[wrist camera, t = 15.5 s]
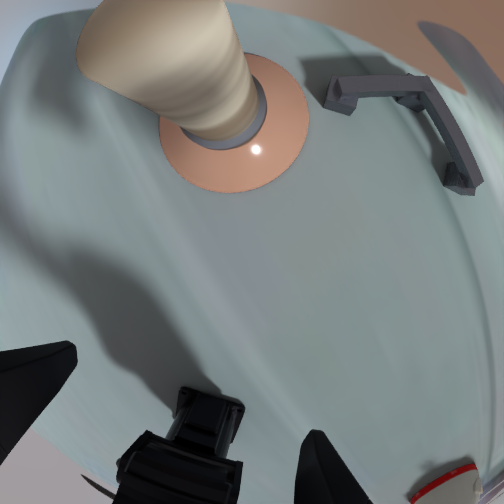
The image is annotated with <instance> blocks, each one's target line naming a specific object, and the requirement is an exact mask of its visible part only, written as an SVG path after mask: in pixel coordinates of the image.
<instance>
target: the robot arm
mask: <svg viewBox="0 0 504 504" xmlns="http://www.w3.org/2000/svg"><path fill="white" fill-rule="evenodd" d="M77 363H78V359H77V350H76V346H75V345H74V344H73V343H71V342H70V341H67V340H66V341H60V342H55V343H49V344H44V345H38V346H32V347H26V348H20V349H13V350H7V351H0V465H1V464H2V463H3V461H4V460H5V459H6V457H7V456H8V454H9V453H10V452H11V450H12V449H13V448H14V446H15V445H16V444H17V443H18V441H19V440H20V438H21V437H22V436H23V435H24V434H25V432H26V431H27V430H28V429H29V427H30V426H31V425H32V424H33V422H34V421H35V420H36V419H37V417H38V416H39V415H40V414H41V413H42V411H43V410H44V409H45V408H46V407H47V405H48V404H49V403H50V402H51V401H52V399H53V398H54V397H55V396H56V395H57V393H58V392H59V391H60V389H61V388H62V387H63V385H64V384H65V382H66V381H67V379H68V378H69V376H70V375H71V373H72V372H73V370H74V369H75V367H76V366H77ZM184 391H185V392H184ZM239 409H241V410H239ZM244 412H245V406H243V405H241V404H237V403H234V402H230V401H227V400H223V399H220V398H217V397H214V396H211V395H207V394H204V393H201V392H198V391H195V390H193V389H190V388H187V387H181V388H180V390H179V395H178V402H177V410H176V417H175V420H174V422H173V424H172V426H171V428H170V430H169V432H168V433H167V435H166V437H165V438H163V437H160V436H158V435H155V434H153V433H152V432H150V431H148V430H146V431H145V432H144V433H143V434H142V435H140V436H139V438H138V439H137V440H136V441H135V442H134V443H133V444H132V445H131V446H130V448H129V449H128V450H127V451H126V452H125V453H124V454H123V455H122V457H121V458H119V459H118V460H117V462H116V465H117V467H118V471H117V475H116V480H117V483H119V484H120V485H119V488H118V491H117V494H116V496H115V498H114V501H113V503H112V504H237V500H238V496H239V491H240V484H241V476H242V468H243V462H241V461H233V460H229V459H226V456H227V453H228V449H229V445H230V444H231V443H232V442H233V440H234V438H235V435H236V433H237V430H238V428H239V425H240V423H241V420H242V417H243V415H244ZM368 499H369V497H368V496H367V495H366V493H365V492H364V490H363V489H362V487H361V486H360V485H359V483H358V482H357V480H356V479H355V477H354V476H353V475H352V473H351V472H350V470H349V469H348V467H347V466H346V464H345V463H344V461H343V460H342V459H341V457H340V456H339V454H338V453H337V451H336V450H335V448H334V447H333V445H332V444H331V442H330V441H329V439H328V438H327V436H326V435H325V433H324V432H323V431H321V430H315V429H312V430H311V431H310V432H309V433H308V435H307V436H306V438H305V439H304V441H303V442H302V445H301V449H300V455H299V461H298V467H297V473H296V479H295V492H294V504H373V503H372V501H371V500H370V499H369V500H368Z"/></svg>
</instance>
